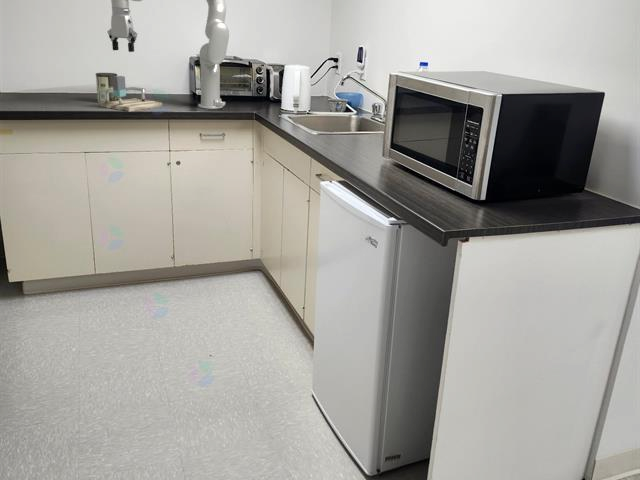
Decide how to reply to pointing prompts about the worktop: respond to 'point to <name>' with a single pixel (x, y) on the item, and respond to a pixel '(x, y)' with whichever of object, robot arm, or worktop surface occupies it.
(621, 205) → the worktop surface
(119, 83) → the block
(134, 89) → the divider frame
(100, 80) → the coffee can
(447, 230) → the worktop surface
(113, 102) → the hole plate
